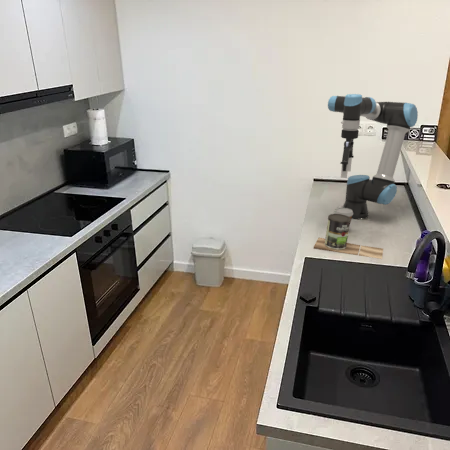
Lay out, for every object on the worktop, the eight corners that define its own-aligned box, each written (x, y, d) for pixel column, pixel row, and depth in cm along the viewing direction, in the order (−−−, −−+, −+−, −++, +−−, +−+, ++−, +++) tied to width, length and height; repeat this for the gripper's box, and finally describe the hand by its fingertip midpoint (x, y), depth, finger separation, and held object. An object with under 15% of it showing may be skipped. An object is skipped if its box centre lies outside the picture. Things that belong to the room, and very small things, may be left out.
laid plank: (360, 247, 204) (360, 245, 204) (383, 250, 201) (383, 248, 200) (357, 257, 194) (357, 255, 194) (381, 261, 190) (381, 258, 190)
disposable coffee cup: (353, 231, 224) (356, 209, 220) (347, 236, 217) (349, 214, 213) (336, 227, 229) (338, 206, 225) (329, 233, 222) (331, 211, 218)
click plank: (318, 239, 211) (318, 237, 211) (360, 247, 204) (360, 245, 204) (313, 248, 201) (313, 246, 200) (357, 257, 194) (357, 255, 194)
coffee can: (350, 248, 200) (355, 220, 195) (331, 250, 197) (335, 222, 191) (338, 239, 209) (342, 212, 204) (320, 241, 206) (323, 214, 200)
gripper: (345, 125, 209) (341, 167, 217) (337, 132, 187) (333, 179, 195) (361, 126, 206) (356, 169, 214) (355, 133, 185) (350, 181, 192)
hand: (345, 174), depth 204 cm, fingers open, 13 cm apart
